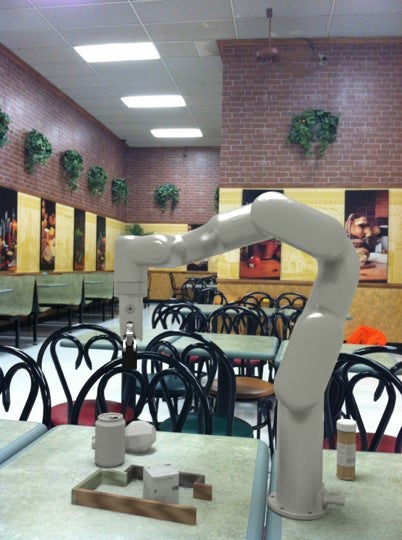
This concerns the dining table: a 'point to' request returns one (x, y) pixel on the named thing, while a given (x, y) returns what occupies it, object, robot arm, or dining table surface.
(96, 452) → the can
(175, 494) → the skincare box
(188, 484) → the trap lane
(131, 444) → the chicken leg
